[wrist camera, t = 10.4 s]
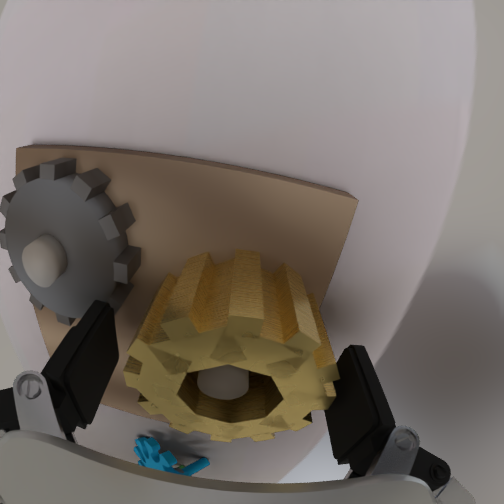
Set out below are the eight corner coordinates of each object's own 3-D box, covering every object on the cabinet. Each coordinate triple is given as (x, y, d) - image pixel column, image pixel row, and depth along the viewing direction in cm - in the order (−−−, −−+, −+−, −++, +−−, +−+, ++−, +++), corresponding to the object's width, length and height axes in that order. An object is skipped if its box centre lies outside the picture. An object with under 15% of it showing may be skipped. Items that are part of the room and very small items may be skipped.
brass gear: (331, 355, 13) (349, 419, 9) (199, 387, 14) (190, 447, 10) (290, 222, 10) (312, 278, 6) (124, 282, 11) (83, 343, 7)
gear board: (257, 422, 18) (258, 477, 13) (68, 377, 16) (46, 422, 12) (348, 193, 11) (403, 235, 6) (31, 144, 9) (-39, 164, 5)
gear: (144, 432, 16) (214, 530, 12) (201, 408, 21) (263, 495, 17) (119, 447, 21) (167, 519, 17) (161, 432, 26) (206, 497, 22)
